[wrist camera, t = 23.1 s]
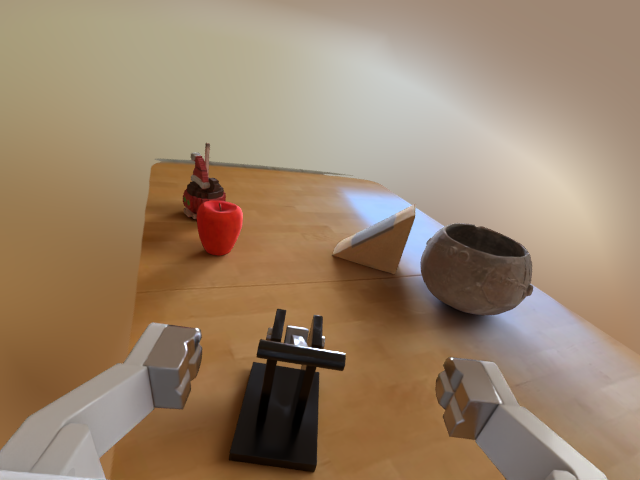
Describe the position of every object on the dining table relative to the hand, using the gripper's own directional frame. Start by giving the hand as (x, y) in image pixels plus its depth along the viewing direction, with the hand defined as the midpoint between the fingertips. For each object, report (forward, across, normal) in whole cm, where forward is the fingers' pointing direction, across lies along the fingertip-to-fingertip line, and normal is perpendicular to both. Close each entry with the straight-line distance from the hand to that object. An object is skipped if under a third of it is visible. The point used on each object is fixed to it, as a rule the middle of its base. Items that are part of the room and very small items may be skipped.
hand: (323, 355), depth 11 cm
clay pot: (+49, -34, +33) cm, 68 cm away
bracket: (+17, +1, +30) cm, 34 cm away
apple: (+52, +18, +31) cm, 63 cm away
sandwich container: (+61, -15, +33) cm, 71 cm away
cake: (+68, +26, +31) cm, 79 cm away
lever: (+12, 0, +15) cm, 19 cm away
